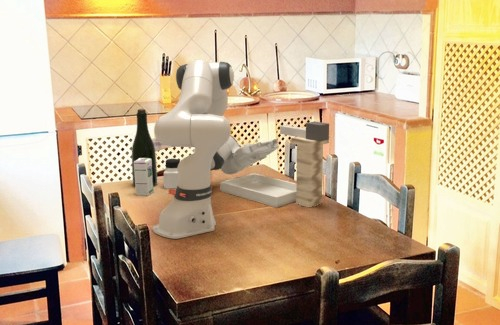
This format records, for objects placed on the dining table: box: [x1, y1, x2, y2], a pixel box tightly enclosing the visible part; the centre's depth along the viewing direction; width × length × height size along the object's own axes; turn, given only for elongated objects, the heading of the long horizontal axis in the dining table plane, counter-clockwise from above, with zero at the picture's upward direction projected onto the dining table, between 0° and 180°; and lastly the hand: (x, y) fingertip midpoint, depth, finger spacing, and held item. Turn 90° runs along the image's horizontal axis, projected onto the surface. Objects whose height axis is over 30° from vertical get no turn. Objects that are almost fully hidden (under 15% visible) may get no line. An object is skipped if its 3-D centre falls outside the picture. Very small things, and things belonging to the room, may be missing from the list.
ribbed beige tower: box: [290, 136, 330, 208], centre depth 232 cm, size 10×10×26 cm
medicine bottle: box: [163, 157, 181, 190], centre depth 260 cm, size 7×7×12 cm
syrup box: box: [134, 158, 154, 197], centre depth 249 cm, size 6×6×14 cm
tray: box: [219, 172, 296, 208], centre depth 249 cm, size 20×32×4 cm, turn 44°
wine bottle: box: [131, 108, 158, 187], centre depth 260 cm, size 10×10×33 cm
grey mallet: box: [279, 121, 330, 141], centre depth 231 cm, size 5×21×6 cm, turn 44°
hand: (268, 142), depth 245 cm, fingers open, 8 cm apart
